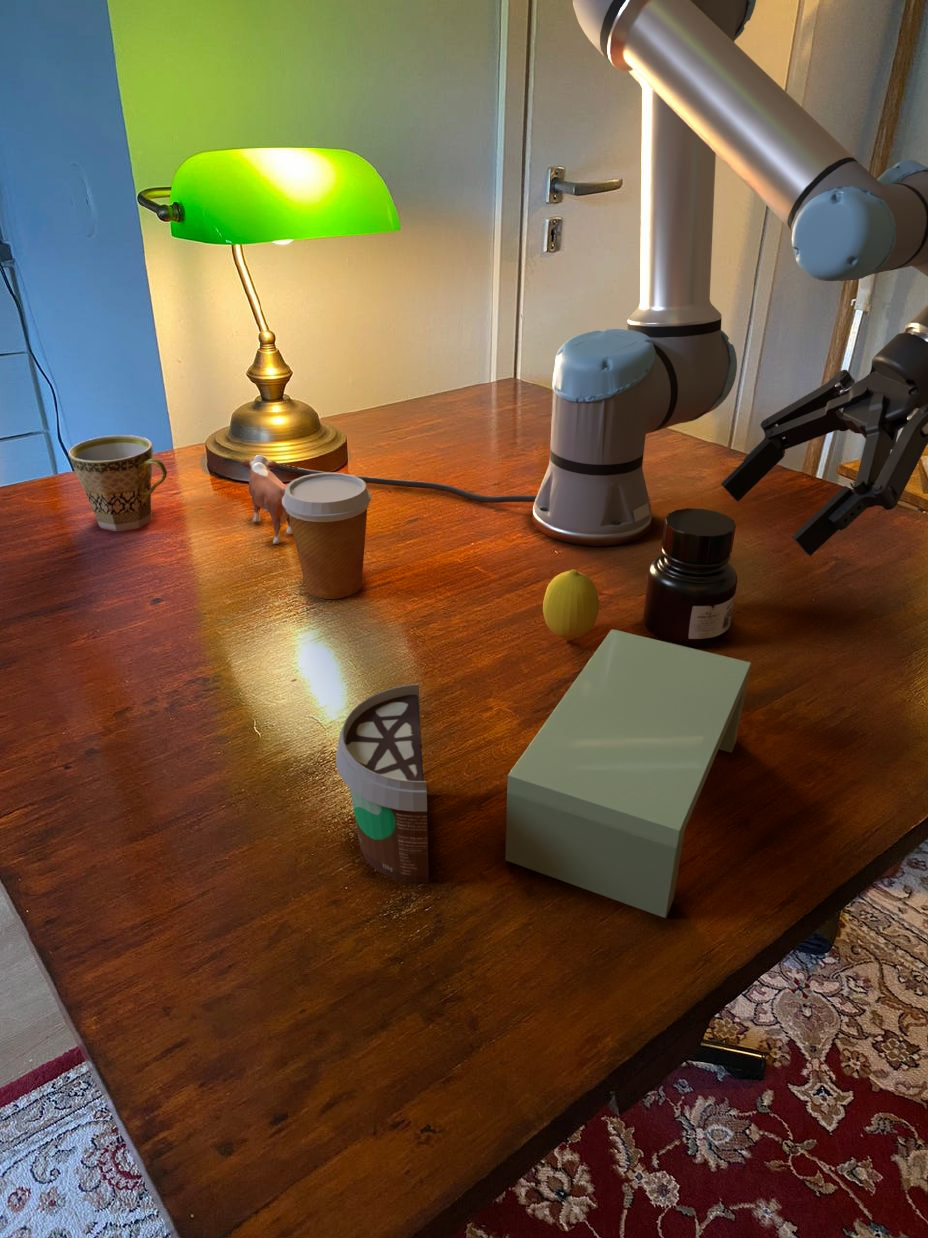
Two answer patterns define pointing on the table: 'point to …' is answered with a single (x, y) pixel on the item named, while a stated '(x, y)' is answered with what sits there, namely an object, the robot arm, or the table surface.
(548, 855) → the shelf
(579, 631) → the lemon
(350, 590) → the disposable coffee cup
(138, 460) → the ceramic cup
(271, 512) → the bull figurine
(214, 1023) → the table surface
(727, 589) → the ink bottle
